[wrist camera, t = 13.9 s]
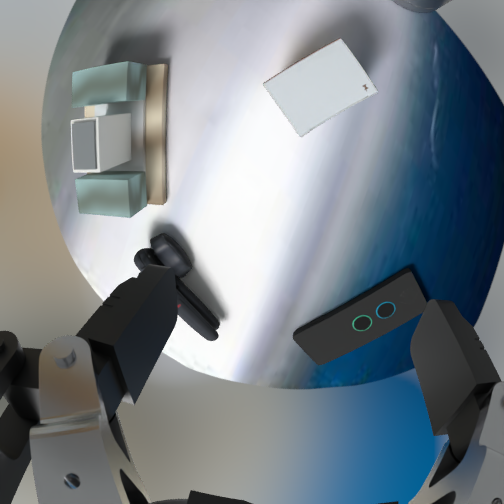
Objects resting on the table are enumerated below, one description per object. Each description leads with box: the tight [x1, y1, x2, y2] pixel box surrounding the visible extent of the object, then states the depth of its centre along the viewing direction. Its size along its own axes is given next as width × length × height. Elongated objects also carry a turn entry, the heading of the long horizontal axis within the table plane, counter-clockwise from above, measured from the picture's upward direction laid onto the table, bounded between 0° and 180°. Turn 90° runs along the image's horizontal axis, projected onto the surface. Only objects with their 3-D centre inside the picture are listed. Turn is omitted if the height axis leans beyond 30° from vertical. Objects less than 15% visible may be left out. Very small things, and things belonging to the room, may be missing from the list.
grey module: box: [71, 113, 132, 172], centre depth 30 cm, size 4×6×7 cm, turn 176°
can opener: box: [134, 234, 219, 341], centre depth 42 cm, size 18×7×6 cm, turn 29°
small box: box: [263, 38, 378, 137], centre depth 25 cm, size 8×6×10 cm
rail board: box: [72, 61, 168, 218], centre depth 32 cm, size 18×12×6 cm, turn 176°
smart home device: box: [293, 268, 427, 365], centre depth 42 cm, size 8×2×20 cm
